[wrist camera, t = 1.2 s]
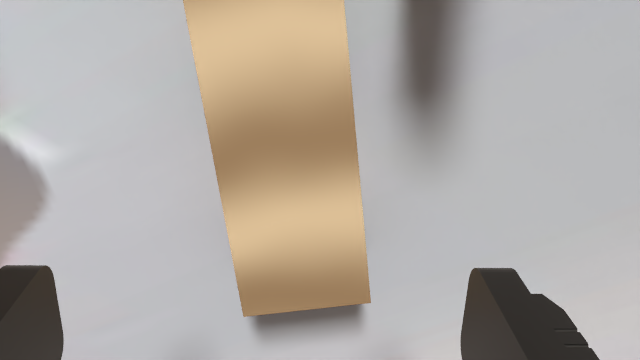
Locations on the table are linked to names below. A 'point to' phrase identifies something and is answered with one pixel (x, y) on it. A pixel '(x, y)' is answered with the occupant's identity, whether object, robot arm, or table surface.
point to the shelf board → (283, 149)
